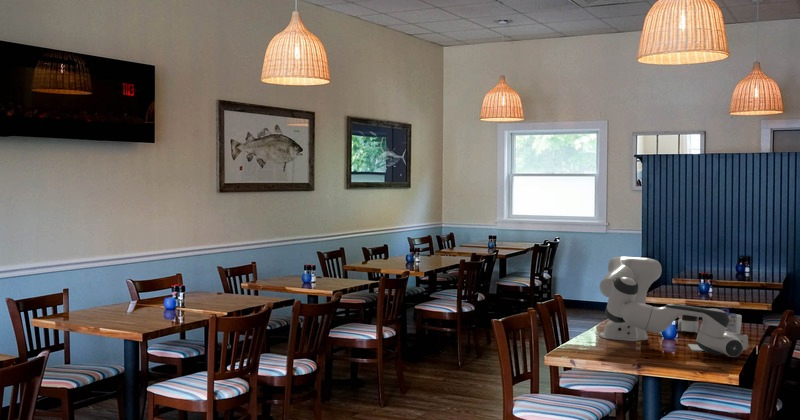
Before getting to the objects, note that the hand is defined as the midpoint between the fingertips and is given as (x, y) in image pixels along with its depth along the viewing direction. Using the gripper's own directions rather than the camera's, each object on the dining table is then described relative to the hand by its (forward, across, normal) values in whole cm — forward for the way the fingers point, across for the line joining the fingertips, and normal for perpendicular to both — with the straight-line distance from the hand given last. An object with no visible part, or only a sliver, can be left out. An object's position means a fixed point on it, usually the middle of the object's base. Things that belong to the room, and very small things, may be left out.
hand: (719, 336), depth 356 cm
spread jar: (+40, -8, -6) cm, 41 cm away
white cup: (+41, +14, -6) cm, 44 cm away
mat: (-1, -8, -6) cm, 10 cm away
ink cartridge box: (+29, +8, -6) cm, 31 cm away
